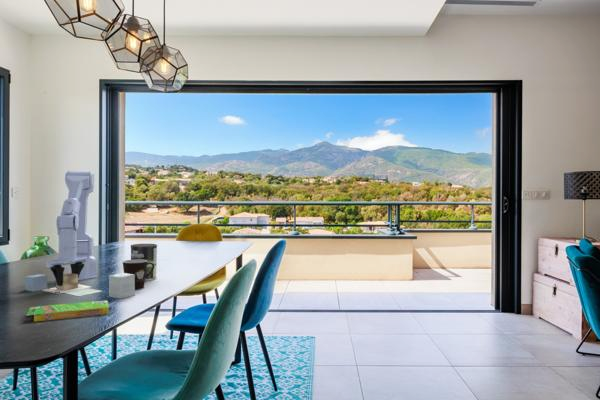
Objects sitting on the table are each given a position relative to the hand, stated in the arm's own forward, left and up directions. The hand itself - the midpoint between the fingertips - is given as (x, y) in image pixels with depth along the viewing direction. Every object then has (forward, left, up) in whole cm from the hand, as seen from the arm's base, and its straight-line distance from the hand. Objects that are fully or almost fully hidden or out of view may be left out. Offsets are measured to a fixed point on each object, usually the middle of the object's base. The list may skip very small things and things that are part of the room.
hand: (67, 284), depth 154 cm
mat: (0, +10, -2) cm, 11 cm away
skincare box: (-4, +26, -2) cm, 26 cm away
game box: (+18, +32, -2) cm, 37 cm away
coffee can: (-28, +8, -2) cm, 29 cm away
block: (0, 0, -2) cm, 2 cm away
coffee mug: (-16, +20, -2) cm, 25 cm away
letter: (0, 0, -2) cm, 2 cm away
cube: (+7, -7, -2) cm, 10 cm away
